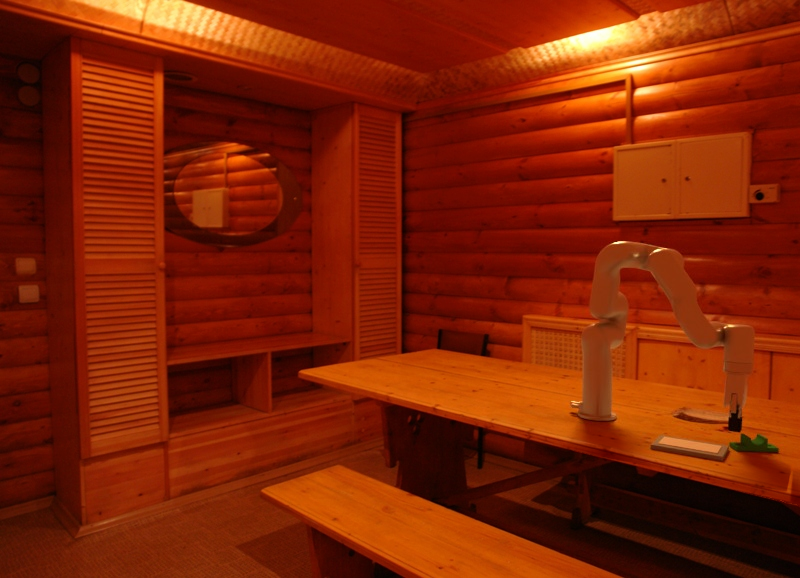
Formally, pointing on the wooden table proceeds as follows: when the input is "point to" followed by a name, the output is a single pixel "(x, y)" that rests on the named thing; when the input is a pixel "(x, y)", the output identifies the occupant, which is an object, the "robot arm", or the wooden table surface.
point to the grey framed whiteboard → (690, 447)
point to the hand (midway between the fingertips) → (734, 430)
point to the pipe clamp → (753, 444)
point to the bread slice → (700, 415)
